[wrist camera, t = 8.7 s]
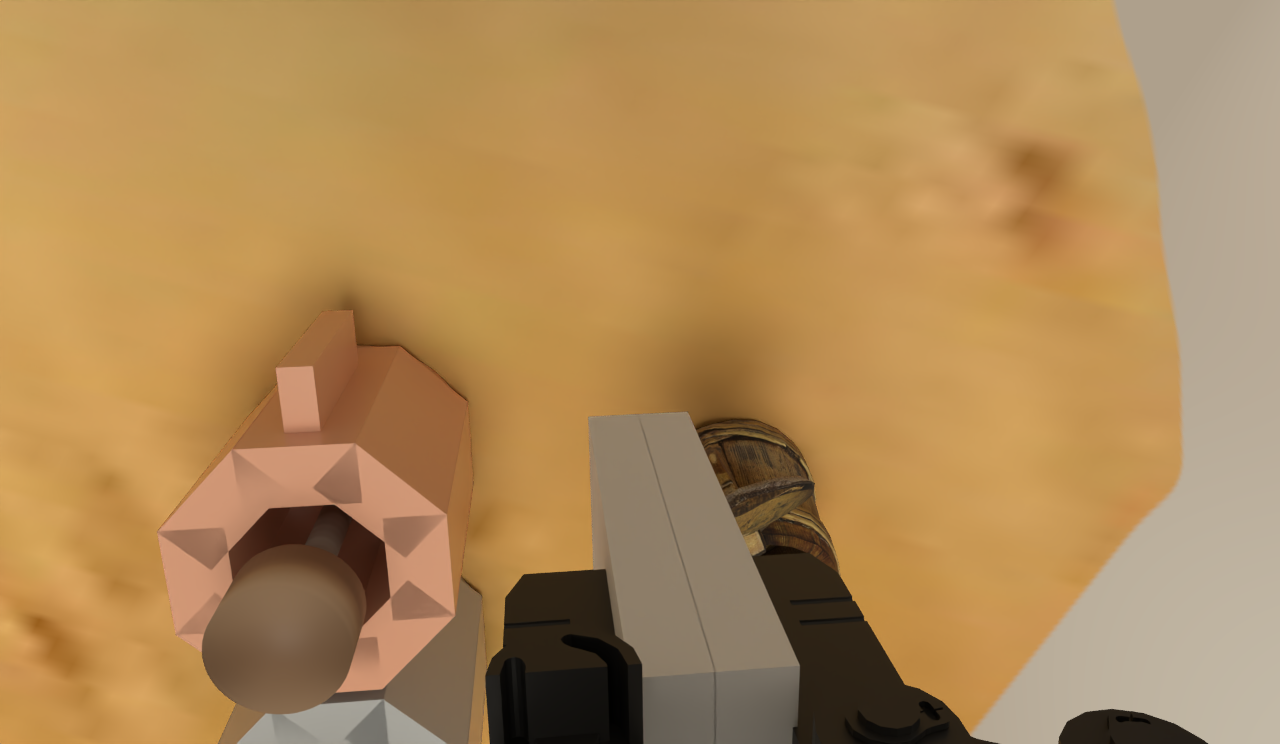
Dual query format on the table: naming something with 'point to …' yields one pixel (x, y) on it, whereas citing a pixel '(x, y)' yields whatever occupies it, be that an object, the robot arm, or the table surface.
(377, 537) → the pink octagonal mug
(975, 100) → the table surface
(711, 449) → the wooden mug
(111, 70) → the table surface
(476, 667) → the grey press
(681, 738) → the robot arm
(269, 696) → the taupe plunger
